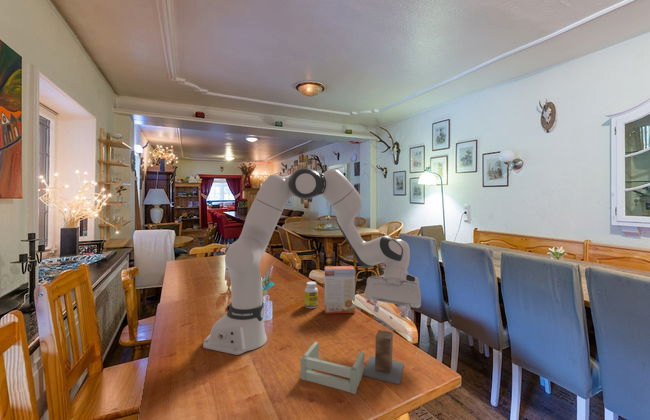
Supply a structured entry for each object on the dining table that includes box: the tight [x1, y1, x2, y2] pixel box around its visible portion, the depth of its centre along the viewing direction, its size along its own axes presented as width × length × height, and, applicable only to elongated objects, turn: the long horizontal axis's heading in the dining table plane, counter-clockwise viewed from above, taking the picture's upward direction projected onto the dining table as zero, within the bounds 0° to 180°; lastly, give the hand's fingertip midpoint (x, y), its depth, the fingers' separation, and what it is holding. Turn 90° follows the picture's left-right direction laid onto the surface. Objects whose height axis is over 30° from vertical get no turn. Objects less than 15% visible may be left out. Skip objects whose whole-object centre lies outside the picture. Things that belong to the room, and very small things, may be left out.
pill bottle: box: [304, 280, 319, 309], centre depth 140 cm, size 6×6×12 cm
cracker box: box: [324, 265, 356, 314], centre depth 134 cm, size 14×6×21 cm, turn 92°
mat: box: [362, 355, 405, 386], centre depth 90 cm, size 11×11×1 cm
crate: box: [300, 341, 365, 395], centre depth 87 cm, size 17×10×6 cm, turn 68°
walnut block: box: [374, 329, 394, 374], centre depth 90 cm, size 4×4×11 cm
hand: (389, 314), depth 101 cm, fingers open, 8 cm apart
